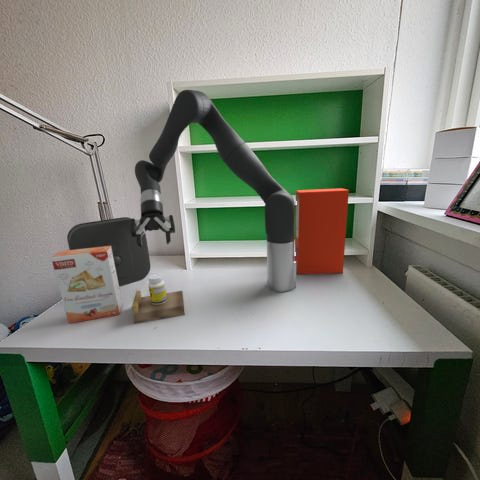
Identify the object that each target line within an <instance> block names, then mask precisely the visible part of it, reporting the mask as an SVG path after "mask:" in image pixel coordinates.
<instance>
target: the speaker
mask: <svg viewBox="0 0 480 480" xmlns="http://www.w3.org/2000/svg"><path fill="white" fill-rule="evenodd" d="M131 219H132V218H131V217H126V216H124V217H116V218H108V219H102V220H95V221H89V222H84V223H83V222H82V223H78V224H75V225H74V226H73V227H71V228H70V229H69V231H68V233H67V236H66V239H67V240H66V241H67V244H68V250H75V249H85V248H95V247H104V246H111V248H112V253H113V258H114V263H115V268H116V273H117V278H118V284H119V288H120V287H123V286H126V285H130V284H133V283H136V282H138V281H141V280H144V279H145V278H146V277H147V276H148V274H149V273H150V271H151V266H152V265H151V259H150V253H149V247H148V240H147V234H146V233H147V232H146V233H145V234H143V236H142V247H140V246H138V244H137V237H132V235H131V233H130V228H131ZM140 226H141V224H140V223H139V224H138V226H137V227H136V232H137V231H138V230H139V228H140Z"/></svg>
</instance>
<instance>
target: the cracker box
mask: <svg viewBox="0 0 480 480" xmlns="http://www.w3.org/2000/svg"><path fill="white" fill-rule="evenodd" d="M50 259H51V262H52V266H53V270H54V274H55V278H56V281H57V285H58V288H59V289H58V290H59V292H60V296H61V300H62V304H63V308H64V312H65V315H66V319H67V323H68V324H72V323H78V322H79V323H80V322H84V321H90V320H96V319H102V318H109V317H113V316H119V315H120V314H121V312H122V308H123V300H122V295H121V290H120V287H119V284H118V278H117V273H116V268H115V263H114V258H113V253H112V248H111V246H104V247H95V248H85V249H75V250H70V249H68V250H60V251H58V252H56V253H55V254H54V255H52V256H51V258H50Z"/></svg>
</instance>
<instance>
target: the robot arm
mask: <svg viewBox="0 0 480 480" xmlns="http://www.w3.org/2000/svg"><path fill="white" fill-rule="evenodd" d="M174 99H175V100H174V102H173V104H172V107H171V110H170V112H169V115H168V117H167V120H166V122H165V124H164V127H163V130H162V131H161V133H160V135H159V137H158V140H156V142H155V144H154V145H153V147H152V149H151V150H150V152H149V155H148V158H149V160H150V161H147V160H144V159H143V160H139V161H138V162H136V163H135V166H134V175H135V177H136V181H137V183H138V185H139V187H140V200H139V201H140V203H139V204H140V218H139V219H135V218H134V217H133V218H131V228H130V233H131V235H132V237H137V244H138V246H140V247H142V236H143V234H145V233H147V232H148V231H149V232H153V231H159V230H160V231H161V232H163V233H165V240H166V245H170V243H171V242H172V240H171V234H175V233H176V226H175V220H174V216H173V214H170V215H169V216H166V217H165V216H164V207H163V206H164V203H163V198H162V193H161V185H160V183H161V182H162V180H163V178H164V174H165V172H166V171H165V170H166V169H167V166H168V163H169V162H170V160H171V159H172V158H173V156H174V155H175V153H176V152H177V149H178V145H179V141H180V137H181V136H182V134H183V132H184V131H185V130H186V128H188V127H189V126H190V125H191V124H199V126H201V128H203V129H204V130H205V132H207V134H208V135H209V136H210V137H211V139H212V140H213V143H214V145H215V148H216V150H217V153H218V155H219V158H220V159H221V160H222V162H223V163H224V164H225V166H226V167H228V169H229V170H230V171H231V172H232V173H233V174H234V175H235V176H236V177H238V179H239V180H241V181H242V182H243V183H245V184H246V185H247V186H249V187H250V188H251V189H253V190H254V191H255V193H257V195H258V197H260V199H261V200H262V201H263V203H264V228H265V229H264V230H265V235H266V269H267V270H266V272H267V273H266V275H267V277H266V279H267V282H266V283H267V288H268V289H269V290H270V291H274V292H278V293H284V292H285V293H286V292H289V291H291V290H293V289H294V288H297V271H296V262H295V209H296V201H295V198H294V197H293V195H291V193H289V192H288V191H287V190H286V189H285V188H284V187H283V186H282V185H281V184H279V183H278V181H276V180H275V179H274V178H273V176H272V175H271V174H270V173H269V171H268V170H267V168H266V167H265V165H264V164H263V163H262V161H261V160H260V158H259V157H258V156H257V155H256V154H255V153H254V151H253V150H252V148H250V146H249V145H248V144H247V143H246V142H245V141H244V140H243V139H242V137H240V135H239V134H238V133H237V132H236V130H234V128H233V127H232V126H230V124H229V122H227V120H226V119H225V118H224V117H223V116H222V114H221V113H220V112H219V110H218V109H217V107H216V106H215V104H214V102H213V101H212V100H211V98H210V97H209V96H208V95H207V94H206V93H204V92H203V91H200V90H194V89H183V90H182V91H180V92H178V94H177V95H176V98H174ZM166 222H167V223H168V224H170V227H168V226H167V225H166ZM139 223H140V224H141V226H140V228H139V230H138V231H137V232H136V227H137V226H138V224H139Z"/></svg>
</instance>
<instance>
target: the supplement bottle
mask: <svg viewBox="0 0 480 480" xmlns="http://www.w3.org/2000/svg"><path fill="white" fill-rule="evenodd" d="M148 282H149V283H147V284H148V291H149V296H150V298H151V303H152V304H154V305H160V304H163V303H165V302H166V301H167V295H166V293H167V289H166V283H165V280H164V277H163V274H162V273H153V274H151V275H149V276H148Z"/></svg>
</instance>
